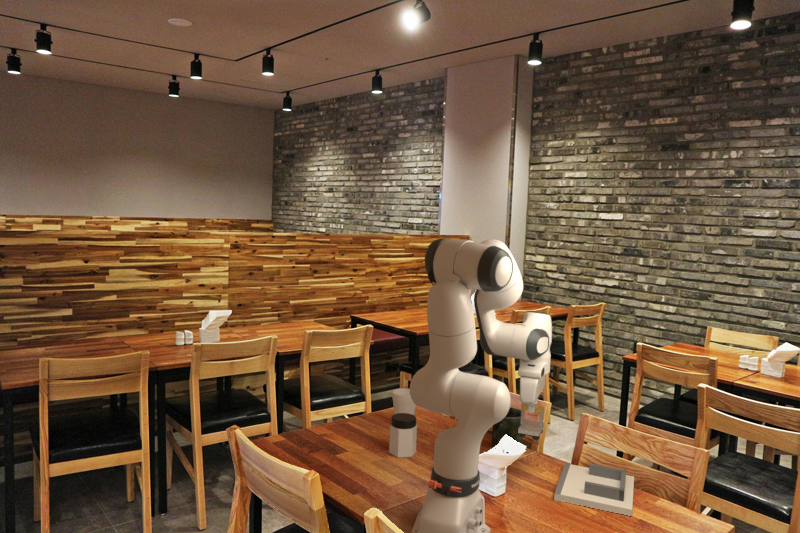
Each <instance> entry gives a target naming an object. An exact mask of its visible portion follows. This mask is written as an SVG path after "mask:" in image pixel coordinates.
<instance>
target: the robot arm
mask: <svg viewBox="0 0 800 533" xmlns="http://www.w3.org/2000/svg"><path fill="white" fill-rule="evenodd" d="M424 267H425V272H426V275H427V279H428V281H429V283H430V284H431V285H432V286H430V288H429V289H428V293H427V303H426V316H427V317H426V318H427V319H426V320H427V328H428V339H429V341H428V342H429V359H428V361H427V363H426V364H425V365H424V366H423V367H421V368H420V369H418V370H417V371H416V372H415V374H414V375H412V378H411V380H410V384H409V389H410V395H411V398H412V401H413V402H414V404H415V405H416V407H419V408H421V409H423V410H426V411H427V412H428V411H429V412H431V413H436V414H441V415H445V416H450V417H454V418H456V426H452V427H449V428H447V429H444V430H443V431H441V432H439V434H438V435H437V436H436V437H435V440H434V450H433V451H434V453H433V454H434V455H433V466H432V468H431V472H430V478H429V480H428V483H427V491H426V494H425V498H424V501H423V504H422V506H421V510H420V511H419V512H417V515H416V519H415V522H414V525H413V527H412V530H411V532H410V533H491V528H490V527H489V526H488V525H487V524H486V522H485V521H486V520H485V518H486V516H485V513H486V512H485V511H486V510H485V507H486V506H485V497H484V495H483V494H482V493H481V491H480V489H479V487H480V482H481V476H480V470H479V461H480V460H479V459H480V451H481V446H482V441H483V439H484V436H485V435H486V433H487V432H488V430H489V429H491V427H492V426H493V425H494V424H496V423H498V422H500V421H501V420H502V419H503V418H504V417H505V416H506V415H507V413H508V411H509V409H510V408H511V403H512V399H511V393H510V390H509V388H508V386H507V384H505V382H503V381H500V380H498V379H496V378H492V377H490V376H488V375H487V376H486V375H482V374H481V375H480V374H476V373H469V372H464V371H461V370H459V368H462V367H464V366H467V365H468V364H470V363H471V361H473V360H474V359H475V356H476V355H477V352H478V342H477V330H476V321H475V315H476V320H477V325H478V328H479V344H480V346H481V348H482V350H483V351H484V353H486V354H487V355H488V356H489V355H490V356H497V357H498V356H499V357H506V358H511V359H518V360H519V366H518V372H517V373H518V374H517V375H518V376H519V377H520V378H519V399H520V402H521V404H522V403H524V404H528V410H527V412H528V413H530V414H534V413H535V412H536V411H535V405H537V406H538V401H539V397H540V395H541V394H542V392H543V390H544V389H545V387H546V386H545V385H546V375H547V374H550V372H551V359H552V358H551V357H552V354H551V346H552V342H553V341H552V340H553V324H552V316H551V315H550V314H549V313H547V312H543V311H542V312H541V311H538V310H527V311H525V312H524V314H523V318H522V319H523V320H522V324H516V323H511V322H505V321H502V320H499V319H497V316H496V311H498V310H505V309H506V308H507V309H508V308H509V307H512V306H513V305H514V304H515V303H516V302H518V300H520V298H521V296H522V294H523V291H524V281H523V277H522V273H521V271H520V268H519V266H518V264H517V261H516V259H515V257H514V256H513V254H512V252H511V250H510V249H509V248H508V246H507V244H506V243H504V242H503V241H501V240H500V239H494V238H489V239H485V240H483V241H481V242H476V241H474V240H467V239H457V238H456V239H453V238H451V237H444V238H437V239H435V240H432V242H431V243H430V244H429V245H428V248H427V249H426V251H425V254H424ZM472 290H475V292H474V296H473V302H472V300H471V294H472ZM472 303H474V304H472ZM473 305H474V306H473ZM473 307H474V309H475V310H474V309H473ZM474 311H475V312H474Z"/></svg>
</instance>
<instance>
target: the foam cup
mask: <svg viewBox="0 0 800 533" xmlns="http://www.w3.org/2000/svg"><path fill="white" fill-rule="evenodd" d="M391 394H392V396H391V398H392V403H393V406H392V407H393V415H394V414H398V413H408V414H412V415H414V416H415V414H416V407H417V405H415V404H414V402H413V401H412V398H411V395H410V388H404V387H403V388H402V387H401V388H396V389H393V390H392V392H391Z"/></svg>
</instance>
